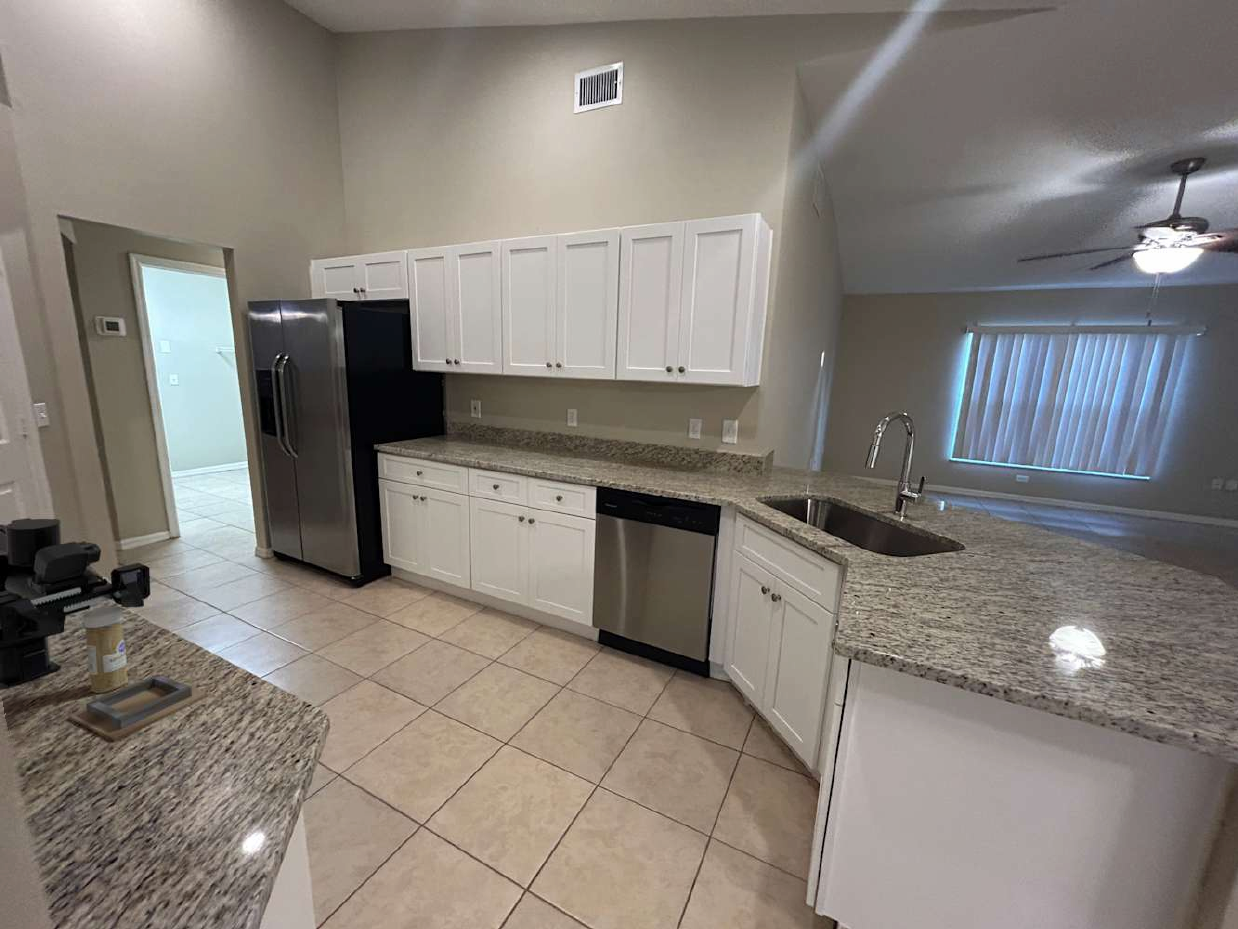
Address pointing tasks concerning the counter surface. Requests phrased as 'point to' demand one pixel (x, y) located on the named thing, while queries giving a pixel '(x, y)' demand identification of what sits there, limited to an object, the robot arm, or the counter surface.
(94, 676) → the sprinkles bottle
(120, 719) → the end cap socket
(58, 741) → the counter surface
